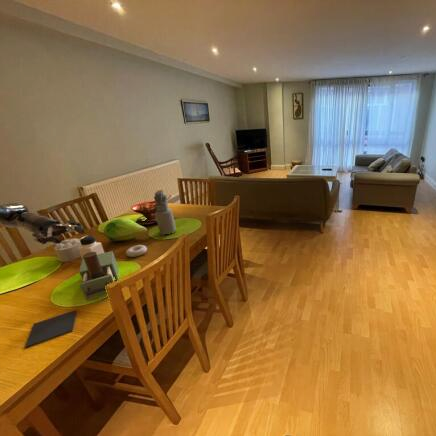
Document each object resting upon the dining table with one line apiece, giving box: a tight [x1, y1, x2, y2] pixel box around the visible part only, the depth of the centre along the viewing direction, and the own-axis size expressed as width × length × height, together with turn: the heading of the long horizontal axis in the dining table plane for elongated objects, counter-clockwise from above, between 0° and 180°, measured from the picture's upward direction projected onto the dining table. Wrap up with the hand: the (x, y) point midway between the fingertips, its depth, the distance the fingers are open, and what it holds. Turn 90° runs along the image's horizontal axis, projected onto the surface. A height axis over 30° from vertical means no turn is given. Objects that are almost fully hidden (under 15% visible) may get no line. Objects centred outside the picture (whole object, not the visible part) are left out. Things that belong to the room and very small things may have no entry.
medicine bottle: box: [78, 235, 105, 259], centre depth 129 cm, size 7×7×12 cm
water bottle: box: [153, 189, 177, 236], centre depth 154 cm, size 10×10×28 cm
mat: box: [24, 309, 78, 349], centre depth 86 cm, size 12×12×1 cm
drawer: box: [79, 265, 115, 301], centre depth 102 cm, size 17×10×8 cm, turn 35°
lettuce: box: [103, 217, 148, 243], centre depth 148 cm, size 15×22×15 cm
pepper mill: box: [83, 252, 104, 280], centre depth 101 cm, size 4×4×16 cm
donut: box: [125, 244, 148, 258], centre depth 133 cm, size 10×4×10 cm
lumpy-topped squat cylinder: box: [53, 237, 82, 263], centre depth 130 cm, size 10×13×9 cm
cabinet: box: [78, 250, 119, 282], centre depth 111 cm, size 14×12×10 cm
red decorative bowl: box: [130, 195, 172, 225], centre depth 176 cm, size 28×24×16 cm
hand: (72, 236), depth 96 cm, fingers open, 8 cm apart
